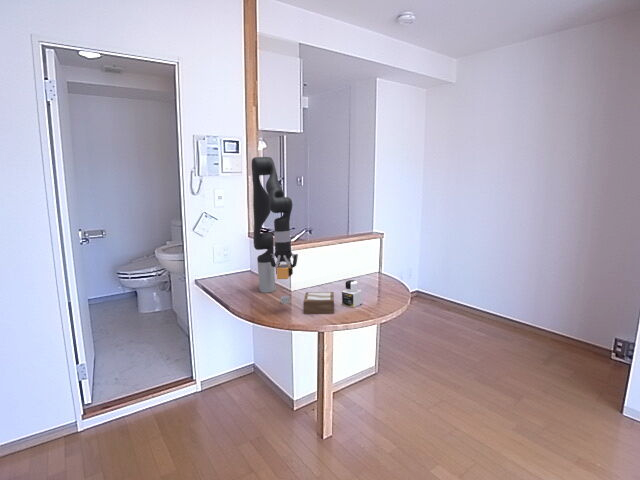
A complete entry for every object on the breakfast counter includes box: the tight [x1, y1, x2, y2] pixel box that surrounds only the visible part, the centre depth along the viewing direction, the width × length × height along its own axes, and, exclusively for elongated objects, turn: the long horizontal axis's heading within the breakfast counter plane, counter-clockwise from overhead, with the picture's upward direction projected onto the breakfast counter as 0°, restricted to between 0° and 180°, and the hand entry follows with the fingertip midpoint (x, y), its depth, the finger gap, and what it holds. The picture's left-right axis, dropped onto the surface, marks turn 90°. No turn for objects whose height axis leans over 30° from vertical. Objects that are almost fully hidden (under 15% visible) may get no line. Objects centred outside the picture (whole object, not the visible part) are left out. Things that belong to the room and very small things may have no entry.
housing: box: [275, 263, 291, 280], centre depth 177 cm, size 9×5×5 cm, turn 172°
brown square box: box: [303, 291, 335, 315], centre depth 181 cm, size 14×14×6 cm
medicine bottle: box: [341, 279, 363, 308], centre depth 185 cm, size 7×7×12 cm
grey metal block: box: [280, 295, 291, 305], centre depth 192 cm, size 4×4×3 cm
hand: (284, 275), depth 178 cm, fingers closed on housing, 5 cm apart
